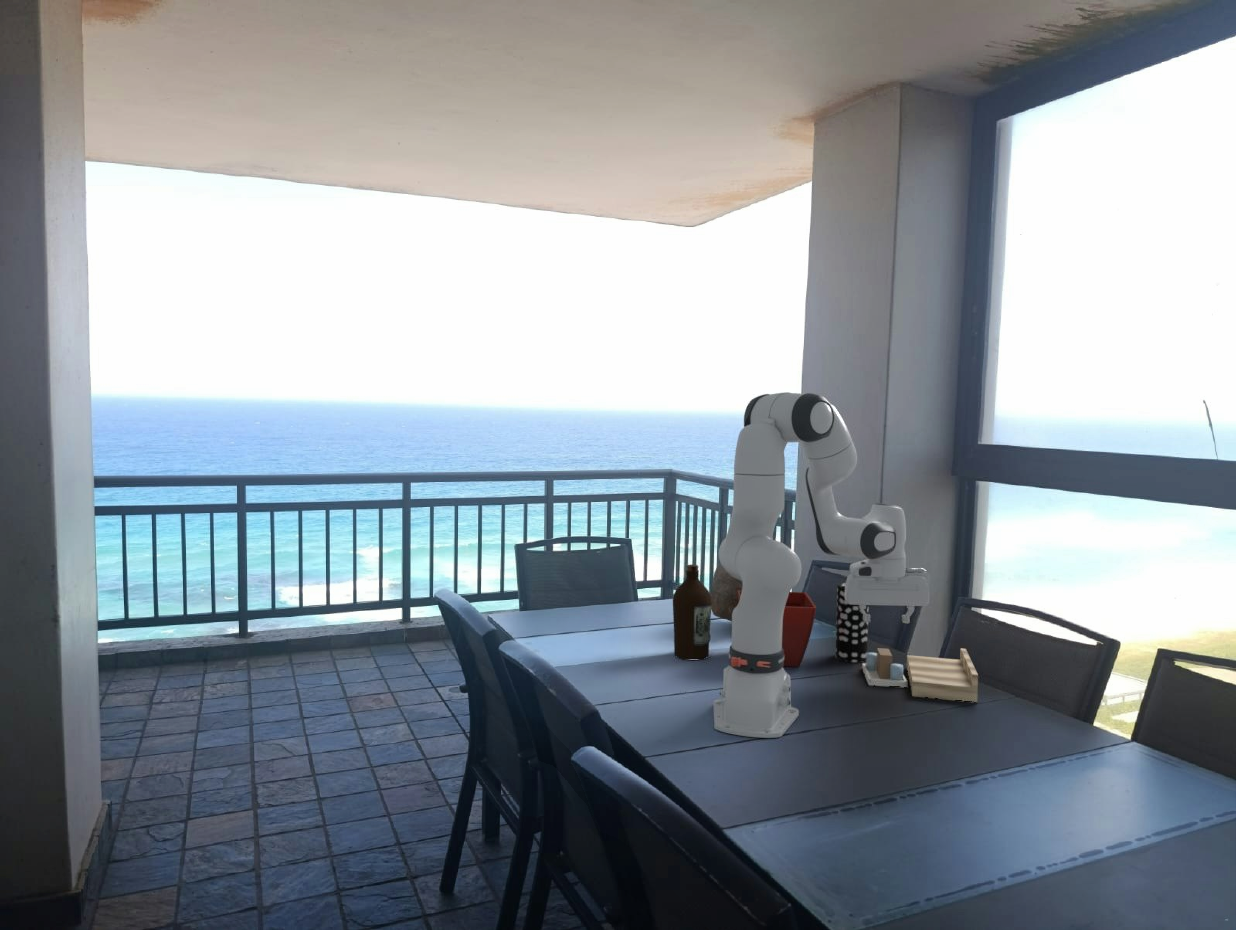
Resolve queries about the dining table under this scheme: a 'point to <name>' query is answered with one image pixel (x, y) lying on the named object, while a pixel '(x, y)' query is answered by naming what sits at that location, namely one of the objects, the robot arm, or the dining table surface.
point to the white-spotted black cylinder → (850, 629)
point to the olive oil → (692, 617)
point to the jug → (724, 593)
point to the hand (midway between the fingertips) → (886, 622)
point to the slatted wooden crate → (943, 677)
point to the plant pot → (796, 626)
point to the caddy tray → (881, 682)
